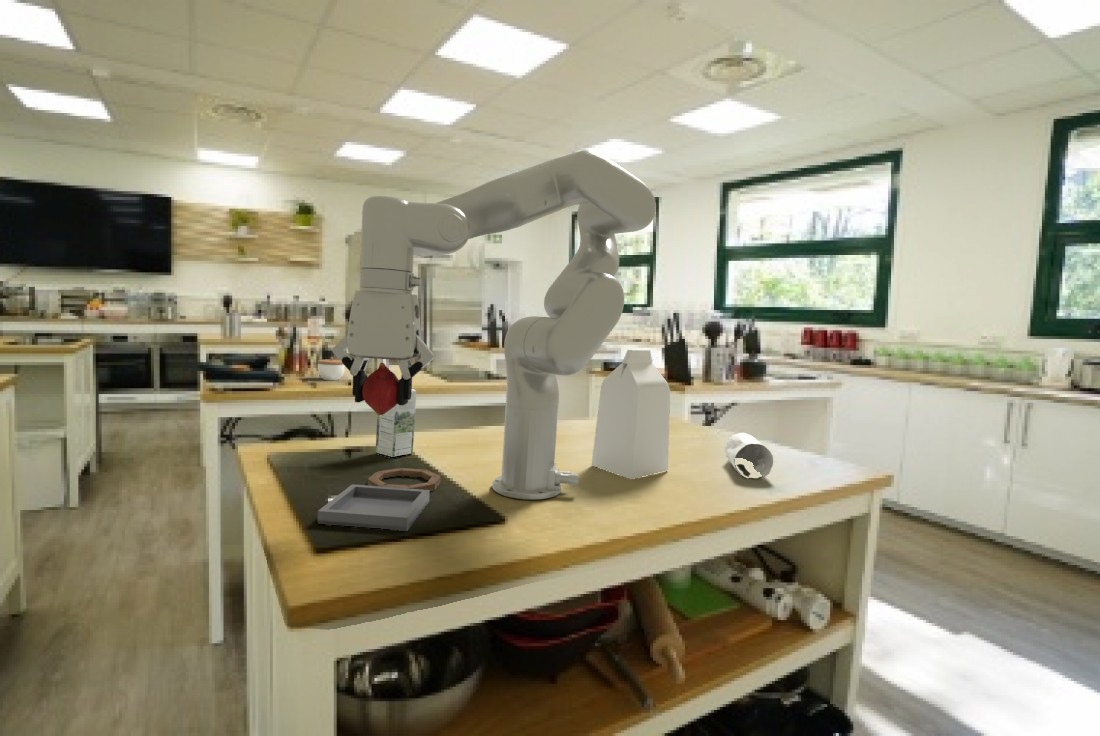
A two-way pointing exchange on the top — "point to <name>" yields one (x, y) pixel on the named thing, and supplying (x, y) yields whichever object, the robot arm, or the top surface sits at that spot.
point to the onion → (381, 390)
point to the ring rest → (426, 474)
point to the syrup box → (397, 429)
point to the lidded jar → (331, 369)
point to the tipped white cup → (749, 452)
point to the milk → (633, 419)
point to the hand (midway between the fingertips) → (381, 401)
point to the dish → (375, 507)
